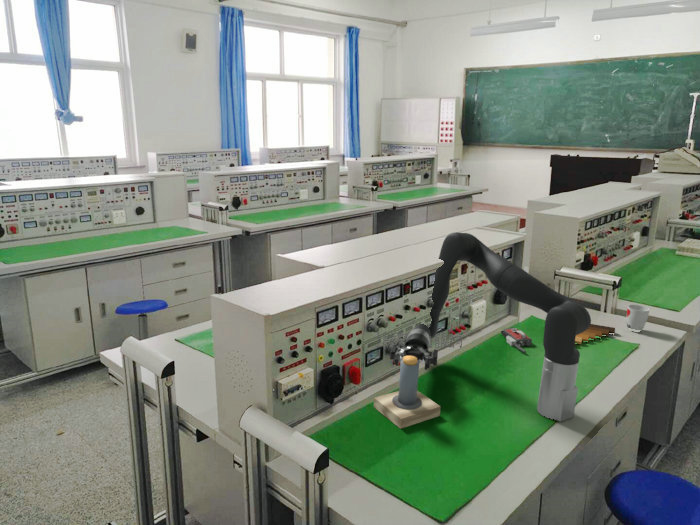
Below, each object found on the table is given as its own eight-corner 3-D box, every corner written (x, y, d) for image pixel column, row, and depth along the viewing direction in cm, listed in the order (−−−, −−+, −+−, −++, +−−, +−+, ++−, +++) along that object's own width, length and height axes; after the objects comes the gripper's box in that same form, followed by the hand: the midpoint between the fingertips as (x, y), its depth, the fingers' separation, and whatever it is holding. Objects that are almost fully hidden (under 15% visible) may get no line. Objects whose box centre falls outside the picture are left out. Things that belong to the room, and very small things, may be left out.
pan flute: (613, 334, 223) (549, 323, 232) (614, 326, 222) (550, 316, 231) (616, 356, 201) (545, 344, 210) (618, 348, 200) (546, 336, 209)
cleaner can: (419, 402, 155) (423, 360, 151) (405, 407, 152) (408, 363, 149) (408, 394, 159) (411, 353, 156) (394, 398, 156) (397, 356, 153)
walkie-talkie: (495, 335, 217) (522, 355, 198) (496, 324, 216) (523, 344, 197) (515, 333, 219) (543, 354, 200) (516, 323, 218) (544, 343, 199)
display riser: (439, 415, 155) (440, 405, 154) (400, 428, 147) (401, 417, 147) (411, 395, 165) (412, 386, 164) (373, 407, 158) (374, 396, 157)
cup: (625, 325, 232) (629, 303, 229) (646, 330, 227) (651, 307, 225) (622, 330, 226) (626, 308, 223) (643, 335, 221) (648, 312, 219)
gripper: (396, 330, 174) (388, 350, 159) (440, 335, 171) (436, 356, 156) (394, 351, 176) (386, 373, 161) (438, 357, 173) (434, 380, 158)
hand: (411, 364), depth 159 cm, fingers open, 8 cm apart
